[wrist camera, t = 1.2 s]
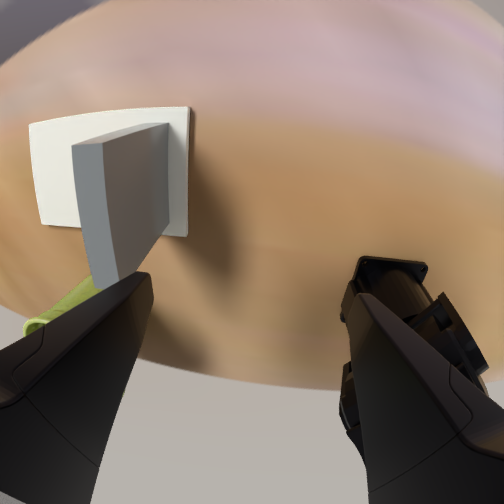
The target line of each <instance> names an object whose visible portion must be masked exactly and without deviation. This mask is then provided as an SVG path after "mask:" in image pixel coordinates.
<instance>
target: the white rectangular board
mask: <svg viewBox="0 0 504 504" xmlns="http://www.w3.org/2000/svg"><path fill="white" fill-rule="evenodd" d="M164 122H169V134H168V189H169V220H170V223H169V224H168V226H167V227H166V229H165V230H164V231H163V233H162V234H161V235H169V236H180V237H186V236H187V235H188V150H189V122H190V107H154V108H136V109H123V110H112V111H103V112H94V113H87V114H80V115H73V116H67V117H61V118H56V119H51V120H46V121H41V122H36V123H32V124H29V137H30V151H31V161H32V170H33V178H34V185H35V191H36V197H37V203H38V208H39V213H40V218H41V223H42V224H44V225H56V226H68V227H80V228H81V223H80V218H79V211H78V205H77V198H76V191H75V182H74V173H73V162H72V149H71V145H74V144H77V143H79V142H82V141H85V140H88V139H91V138H94V137H97V136H101V135H104V134H107V133H111V132H114V131H117V130H121V129H124V128H128V127H132V126H136V125H140V124H144V123H164Z"/></svg>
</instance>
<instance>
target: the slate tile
mask: <svg viewBox="0 0 504 504" xmlns="http://www.w3.org/2000/svg"><path fill="white" fill-rule="evenodd" d="M168 134H169V122H164V123H144V124H140V125H136V126H132V127H128V128H124V129H121V130H117V131H114V132H111V133H107V134H104V135H101V136H97V137H94V138H91V139H88V140H85V141H82V142H79V143H77V144H74V145H71V149H72V162H73V173H74V182H75V191H76V198H77V205H78V211H79V218H80V223H81V229H82V234H83V239H84V244H85V249H86V254H87V258H88V262H89V267H90V271H91V275H92V279H93V283H94V286H95V288H98V289H106V288H107V287H109V286H111V285H113V284H114V283H116V282H118V281H120V280H122V279H123V278H125V277H127V276H129V275H130V274H132V273H134V272H136V270H137V269H138V267H139V266H140V264H141V263H142V261H143V260H144V258H145V257H146V256H147V254H148V253H149V251H150V250H151V248H152V247H153V245H154V244H155V243H156V241H157V240H158V238H159V237H160V236H161V234H162V233H163V231H164V230H165V229H166V227H167V226H168V224H169V223H170V220H169V189H168Z"/></svg>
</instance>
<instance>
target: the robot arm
mask: <svg viewBox="0 0 504 504" xmlns="http://www.w3.org/2000/svg"><path fill="white" fill-rule="evenodd" d="M364 261H367V262H366V263H365V264H362V263H363V262H364ZM423 267H424V268H423ZM421 268H423V269H422V270H421ZM427 271H428V266H427V265H426V263H425V262H418V261H410V260H401V259H392V258H382V257H373V256H362V257H360V258H359V260H358V262H357V266H356V269H355V272H354V275H353V278H352V280H351V281H349V283H348V286H347V289H346V292H345V295H344V298H343V301H342V304H341V308H342V311H341V314H340V319H341V321H342V322H344V323H346V326H347V329H348V333H349V339H350V352H351V361H350V362H348V363H346V364H345V365H344V366H343V376H342V386H341V395H340V403H339V415H340V417H341V420H342V422H343V425H344V427H345V429H346V430H347V431H346V433H347V435H348V437H349V438H350V439H351V441H352V442H353V443H354V444H355V446H356V448H357V449H358V451H359V453H360V455H361V457H362V459H363V462H364V464H365V467H366V471H367V483H368V492H369V494H368V499H369V504H504V409H502V407H500V406H499V405H498V404H497V403H496V402H494V401H493V400H492V399H491V398H489V395H488V392H487V388H486V386H485V384H484V382H483V380H482V378H481V376H480V374H482V373H483V372H484V371H486V370H487V369H488V368H489V366H488V364H487V362H486V360H485V359H484V357H483V355H482V353H481V351H480V349H479V348H478V346H477V344H476V342H475V340H474V339H473V337H472V335H471V334H470V332H469V330H468V329H467V327H466V325H465V324H464V322H463V321H462V319H461V317H460V316H459V314H458V313H457V311H456V310H455V308H454V307H453V305H452V304H451V302H450V301H449V299H448V298H447V296H446V295H445V293H444V292H442V293H441V294H440V295H439V296H438V298H437V299H436V300H435V301H433V299H432V298H431V296H430V295H429V293H428V292H427V290H426V288H425V287H424V285H423V284H422V282H423V280H424V278H425V276H426V273H427ZM153 301H154V295H153V288H152V281H151V276H150V274H149V273H146V272H139V271H137V272H134V273H132V274H130V275H129V276H127V277H125V278H123V279H122V280H120V281H118V282H116V283H114V284H113V285H111V286H109V287H107V288H106V289H104V290H102V291H100V292H99V293H97V294H95V295H94V296H92V297H90V298H88V299H87V300H85V301H83V302H82V303H80V304H78V305H76V306H75V307H73V308H71V309H70V310H68V311H66V312H65V313H63V314H61V315H60V316H58V317H56V318H55V319H53V320H51V321H50V322H48V323H46V324H45V326H41V327H40V328H38V329H37V330H35V331H33V332H32V333H30V334H28V335H27V336H25V337H23V338H22V339H20V340H18V341H16V342H15V343H13V344H11V345H9V346H7V347H5V348H4V349H2V350H0V504H90V502H91V498H92V494H93V490H94V486H95V483H96V479H97V475H98V472H99V467H100V464H101V461H102V457H103V454H104V451H105V447H106V444H107V441H108V438H109V434H110V431H111V428H112V426H113V422H114V419H115V416H116V413H117V411H118V408H119V405H120V402H121V399H122V396H123V393H124V391H125V388H126V385H127V382H128V380H129V377H130V374H131V371H132V369H133V366H134V364H135V361H136V358H137V356H138V353H139V351H140V348H141V345H142V341H143V338H144V334H145V330H146V326H147V323H148V319H149V316H150V312H151V309H152V305H153Z"/></svg>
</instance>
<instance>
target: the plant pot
mask: <svg viewBox="0 0 504 504" xmlns="http://www.w3.org/2000/svg"><path fill="white" fill-rule="evenodd" d="M102 290H104V289H98V288H95V286H94V283H93V279H92V275H89V276H88V277H87V278H86V279H84V280H83V281H82V282H81V283H80V284H78V285H77V286H76V287H75V288H74V289H73V290H72V291H70V292H69V293H68V294H67V295H66V296H65V297H64V298H62V299H61V300H60V301H59V302H58V303H57V304H55V305H54V306H53V307H52V308H51V309H50V310H49V311H46V312H43V313H42V314H41V315H40V316H38V317H33V318H31V319H29V320H28V321H27V322H26V323H25V324H24V326H23V335H24V337H25V336H27V335H28V334H30V333H32V332H33V331H35V330H37V329H38V328H40V327H41V326H45V324H46V323H48V322H50V321H51V320H53V319H55V318H56V317H58V316H60V315H61V314H63V313H65V312H66V311H68V310H70V309H71V308H73V307H75V306H76V305H78V304H80V303H82V302H83V301H85V300H87V299H88V298H90V297H92V296H94V295H95V294H97V293H99V292H100V291H102ZM124 393H125V391H124ZM124 393H123V395H124ZM122 397H123V396H122Z"/></svg>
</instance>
